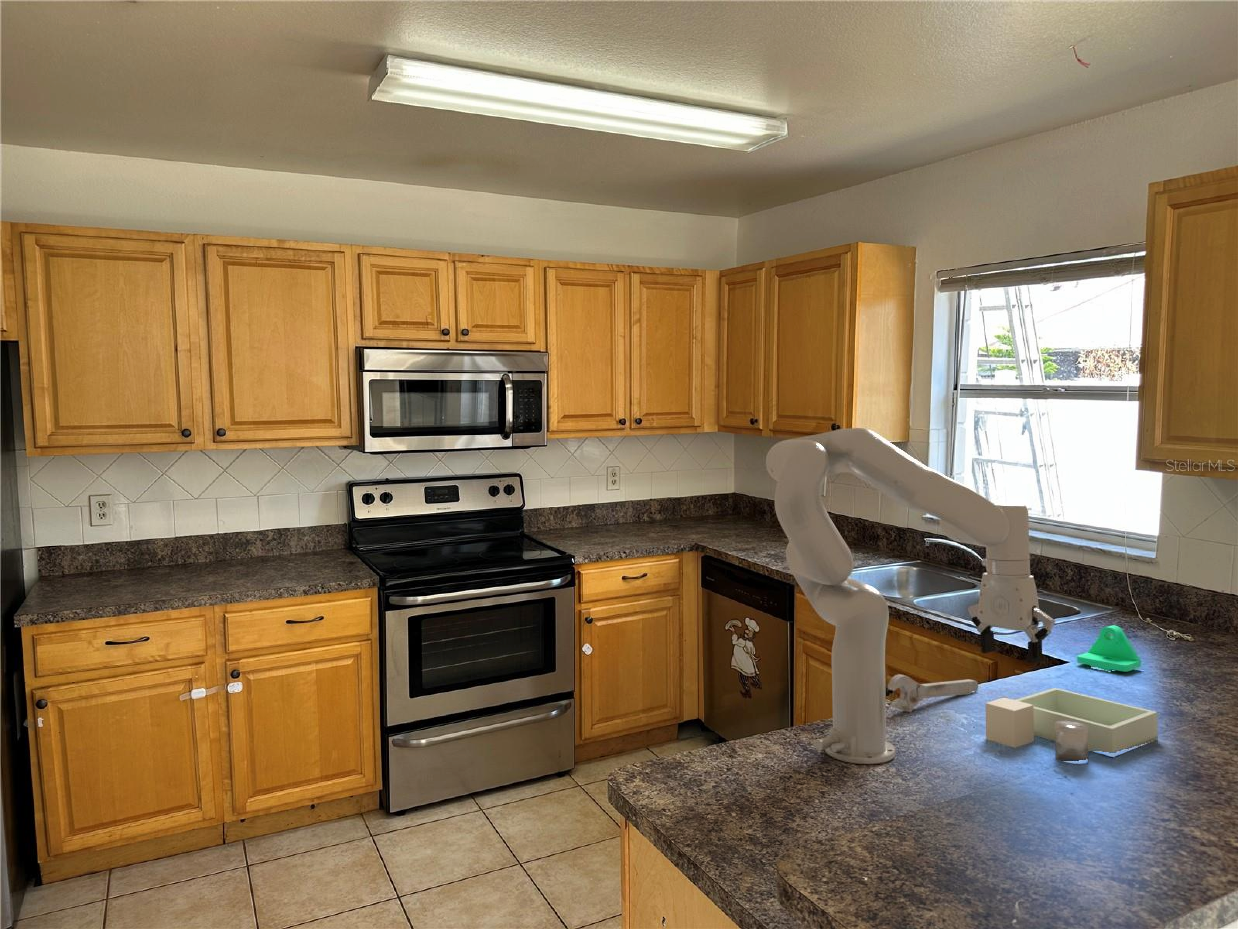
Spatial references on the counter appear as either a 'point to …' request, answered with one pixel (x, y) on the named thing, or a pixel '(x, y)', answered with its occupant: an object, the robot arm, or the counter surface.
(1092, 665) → the camera mount
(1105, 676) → the counter surface
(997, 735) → the flour box
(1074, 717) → the crate
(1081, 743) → the tea tin
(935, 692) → the wrench
